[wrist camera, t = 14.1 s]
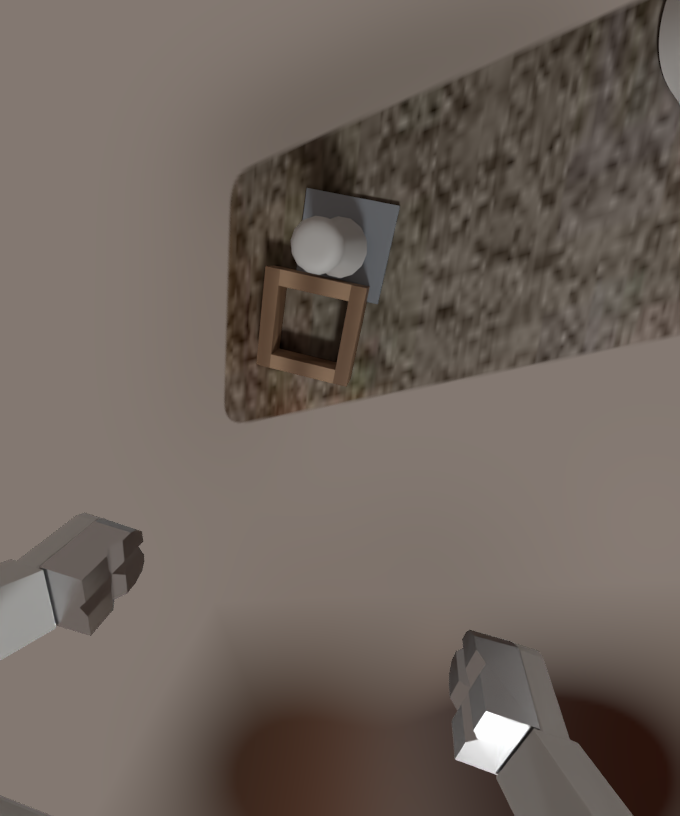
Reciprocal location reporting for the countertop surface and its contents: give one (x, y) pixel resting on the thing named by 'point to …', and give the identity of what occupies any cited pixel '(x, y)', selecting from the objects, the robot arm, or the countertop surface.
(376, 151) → the countertop surface
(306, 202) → the slate mat
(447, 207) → the countertop surface
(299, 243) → the salt shaker
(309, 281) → the pocket frame
